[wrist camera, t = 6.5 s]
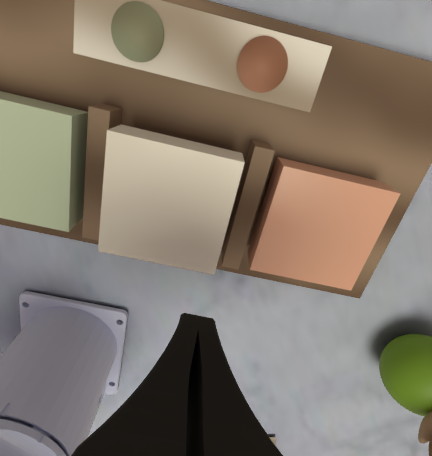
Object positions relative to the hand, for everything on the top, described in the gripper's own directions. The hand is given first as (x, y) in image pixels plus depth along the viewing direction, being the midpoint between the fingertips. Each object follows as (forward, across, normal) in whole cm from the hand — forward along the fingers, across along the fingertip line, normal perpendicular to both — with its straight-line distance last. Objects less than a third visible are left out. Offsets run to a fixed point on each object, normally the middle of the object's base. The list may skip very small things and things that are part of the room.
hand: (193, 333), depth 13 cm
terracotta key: (+7, -6, -4) cm, 10 cm away
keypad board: (+9, +2, -6) cm, 11 cm away
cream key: (+6, +2, -4) cm, 7 cm away
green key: (+7, +10, -4) cm, 13 cm away
